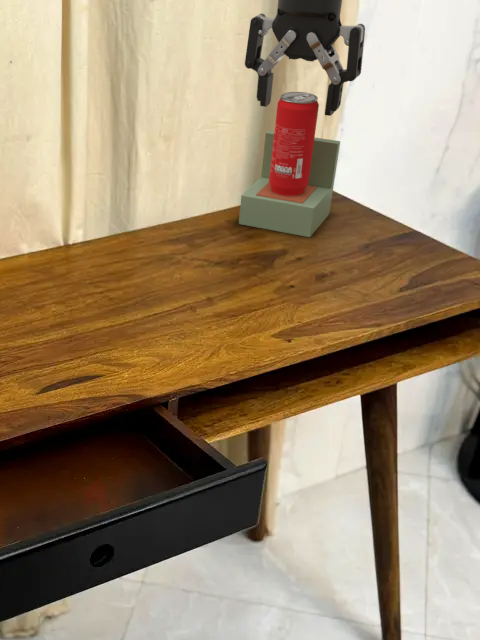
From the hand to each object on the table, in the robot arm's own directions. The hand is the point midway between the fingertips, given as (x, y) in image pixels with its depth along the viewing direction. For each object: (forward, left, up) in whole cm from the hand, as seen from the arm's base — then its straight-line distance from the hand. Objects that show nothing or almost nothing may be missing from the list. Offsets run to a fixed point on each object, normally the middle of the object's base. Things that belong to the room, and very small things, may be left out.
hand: (297, 109), depth 126 cm
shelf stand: (0, -1, -15) cm, 15 cm away
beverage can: (0, 0, -11) cm, 11 cm away
